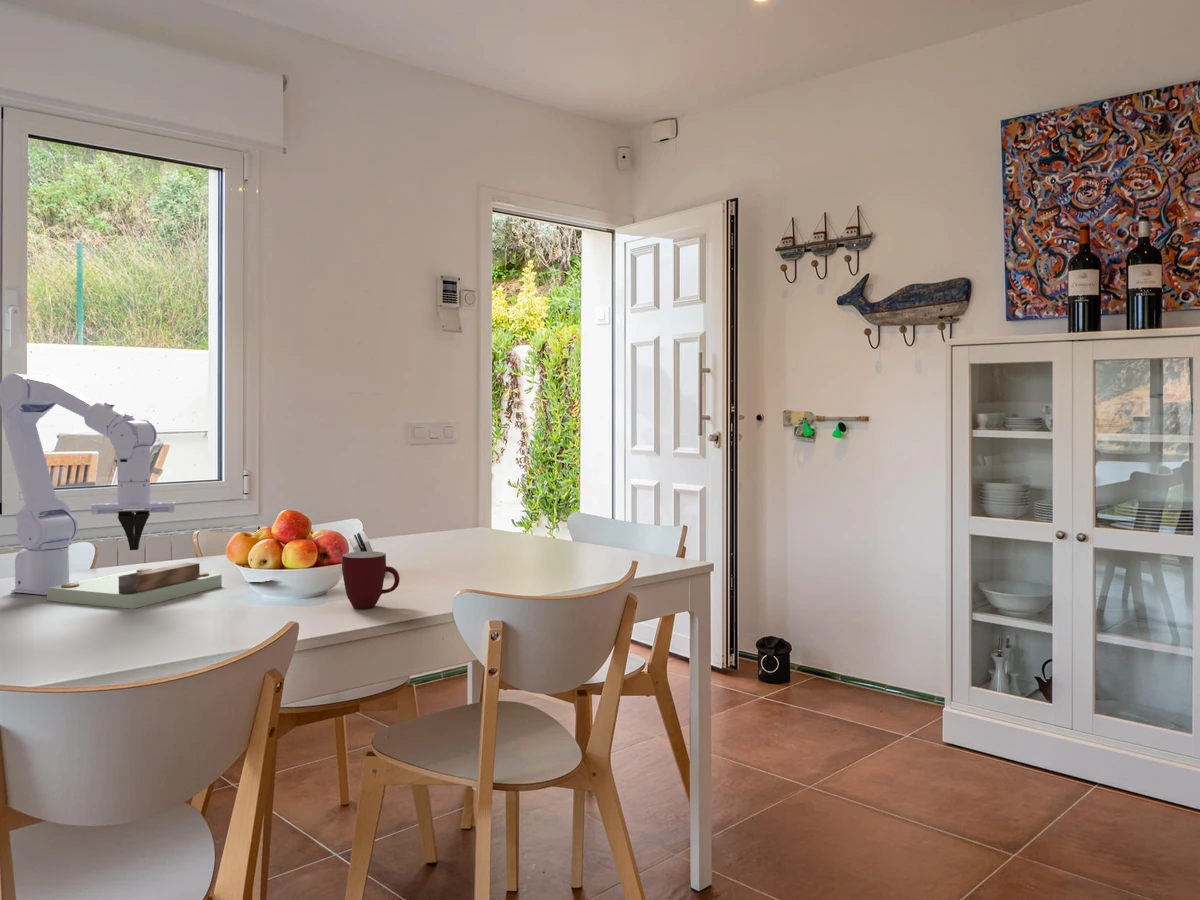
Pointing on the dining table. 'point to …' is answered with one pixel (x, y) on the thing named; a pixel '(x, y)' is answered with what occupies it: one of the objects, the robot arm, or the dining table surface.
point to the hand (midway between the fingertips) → (134, 549)
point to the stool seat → (107, 593)
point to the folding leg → (158, 577)
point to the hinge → (363, 541)
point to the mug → (366, 577)
